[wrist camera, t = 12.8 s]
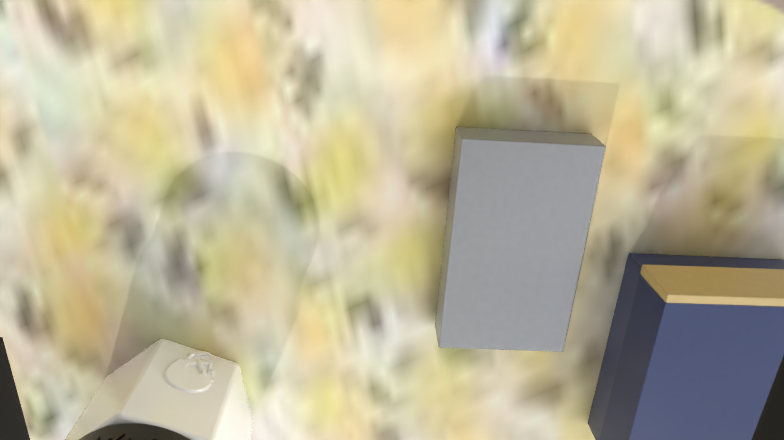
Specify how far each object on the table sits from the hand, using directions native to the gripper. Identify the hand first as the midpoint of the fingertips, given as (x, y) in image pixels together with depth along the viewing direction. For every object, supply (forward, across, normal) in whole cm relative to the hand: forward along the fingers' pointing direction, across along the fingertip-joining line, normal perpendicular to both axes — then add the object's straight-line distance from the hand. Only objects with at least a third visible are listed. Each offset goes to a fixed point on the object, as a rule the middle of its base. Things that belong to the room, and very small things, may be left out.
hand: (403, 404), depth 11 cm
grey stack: (+24, +7, -7) cm, 26 cm away
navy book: (+19, +18, -14) cm, 29 cm away
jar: (+24, -11, -19) cm, 32 cm away
